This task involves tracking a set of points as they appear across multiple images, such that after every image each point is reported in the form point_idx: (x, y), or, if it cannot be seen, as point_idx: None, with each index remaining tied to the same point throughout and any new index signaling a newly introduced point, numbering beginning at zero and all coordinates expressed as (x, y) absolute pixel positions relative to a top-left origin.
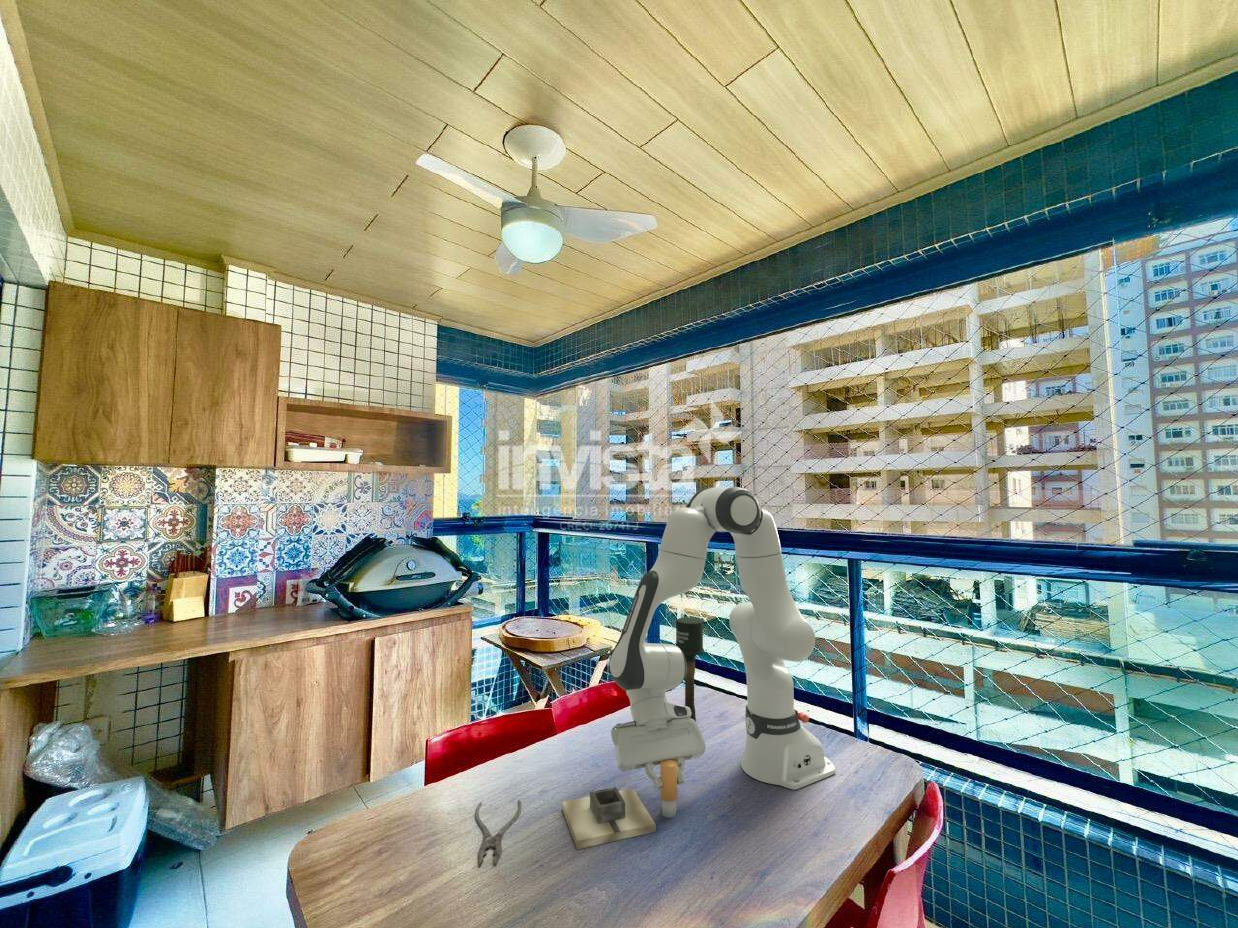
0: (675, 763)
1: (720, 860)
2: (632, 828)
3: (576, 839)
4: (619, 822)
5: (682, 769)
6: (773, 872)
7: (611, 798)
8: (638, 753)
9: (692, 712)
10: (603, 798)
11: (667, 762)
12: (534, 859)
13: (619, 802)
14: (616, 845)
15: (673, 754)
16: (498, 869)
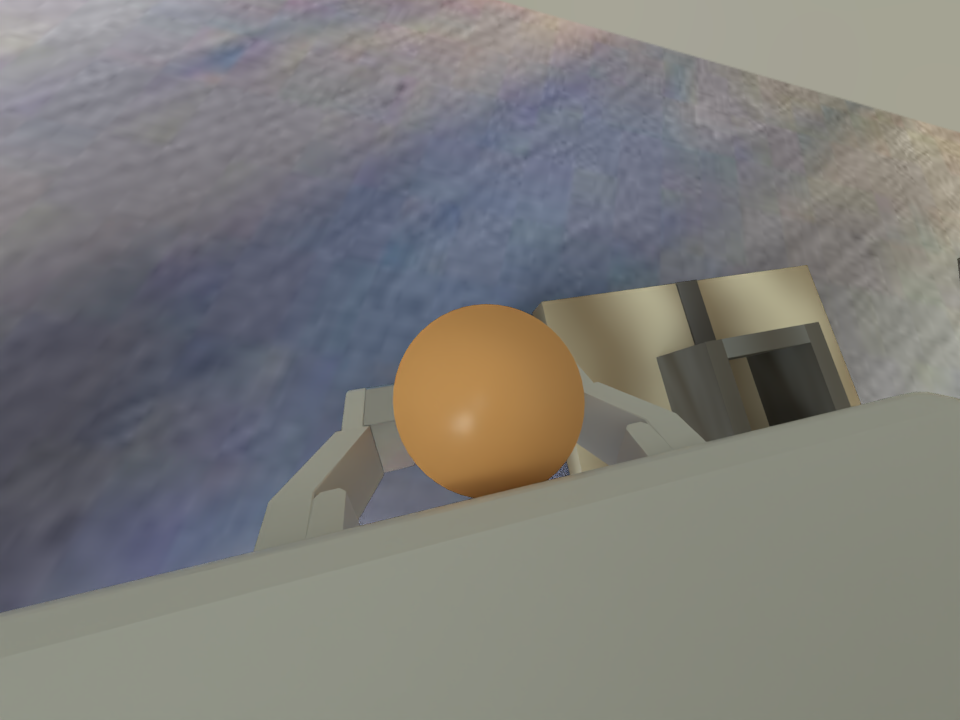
0: (413, 397)
1: (341, 137)
2: (631, 291)
3: (809, 273)
4: (677, 333)
5: (333, 445)
6: (180, 52)
7: None
8: (919, 494)
9: None
10: None
11: (501, 433)
12: (878, 261)
13: (729, 349)
14: (667, 270)
15: (400, 537)
16: (947, 245)
